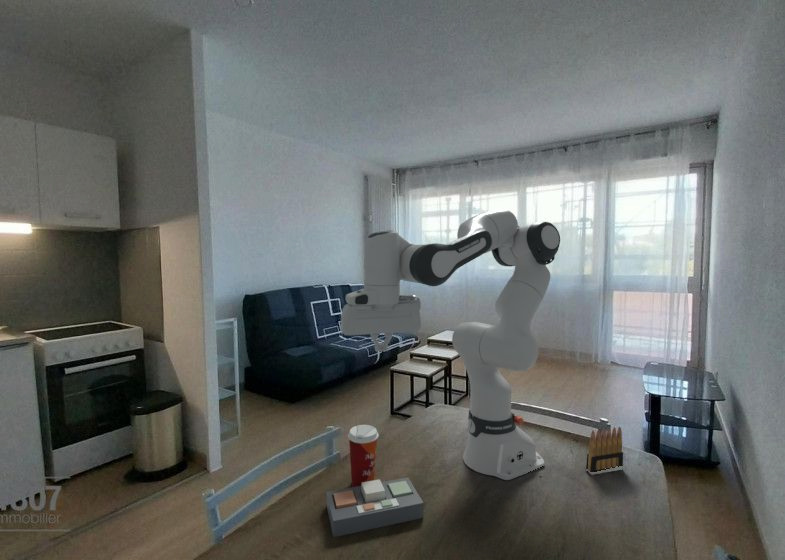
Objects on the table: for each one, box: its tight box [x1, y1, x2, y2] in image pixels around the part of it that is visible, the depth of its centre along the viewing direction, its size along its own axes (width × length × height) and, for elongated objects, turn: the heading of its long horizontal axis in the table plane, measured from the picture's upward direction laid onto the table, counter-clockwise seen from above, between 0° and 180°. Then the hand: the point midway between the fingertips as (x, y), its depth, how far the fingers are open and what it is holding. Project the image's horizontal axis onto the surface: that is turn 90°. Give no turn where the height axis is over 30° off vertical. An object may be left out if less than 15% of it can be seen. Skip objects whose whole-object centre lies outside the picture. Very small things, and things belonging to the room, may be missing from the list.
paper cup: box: [347, 424, 379, 487], centre depth 96 cm, size 8×8×14 cm
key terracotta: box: [333, 490, 357, 509], centre depth 85 cm, size 4×4×2 cm
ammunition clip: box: [585, 426, 624, 472], centre depth 103 cm, size 11×2×12 cm, turn 105°
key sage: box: [388, 481, 412, 498], centre depth 89 cm, size 4×4×2 cm
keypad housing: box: [326, 477, 425, 538], centre depth 86 cm, size 20×10×4 cm, turn 108°
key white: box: [361, 479, 385, 503], centre depth 87 cm, size 4×4×2 cm
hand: (381, 350), depth 95 cm, fingers closed
